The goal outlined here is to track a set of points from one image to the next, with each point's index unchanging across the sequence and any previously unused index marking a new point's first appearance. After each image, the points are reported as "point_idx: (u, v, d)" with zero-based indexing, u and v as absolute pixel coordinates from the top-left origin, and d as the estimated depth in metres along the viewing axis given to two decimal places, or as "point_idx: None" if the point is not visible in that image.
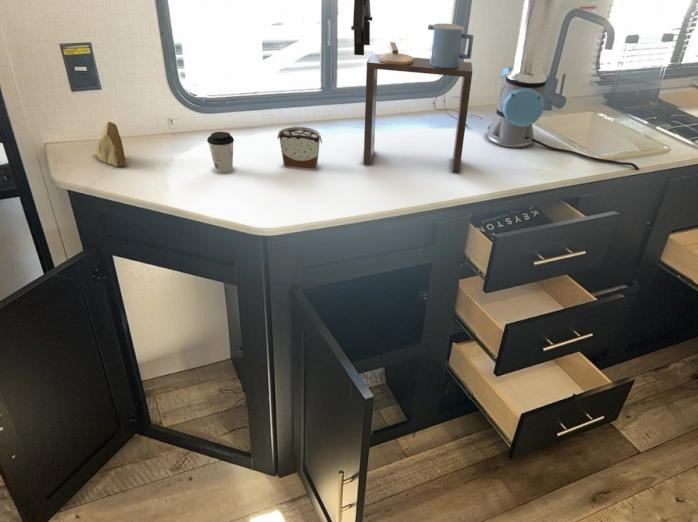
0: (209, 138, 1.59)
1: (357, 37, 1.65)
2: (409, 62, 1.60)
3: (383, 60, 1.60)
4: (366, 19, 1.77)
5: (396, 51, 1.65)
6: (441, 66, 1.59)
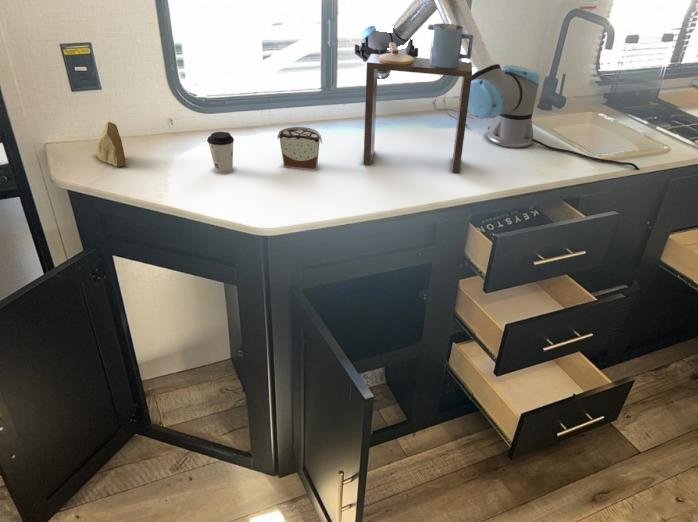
0: (209, 138, 1.59)
1: None
2: (409, 62, 1.60)
3: (383, 60, 1.60)
4: None
5: (396, 51, 1.65)
6: (441, 66, 1.59)
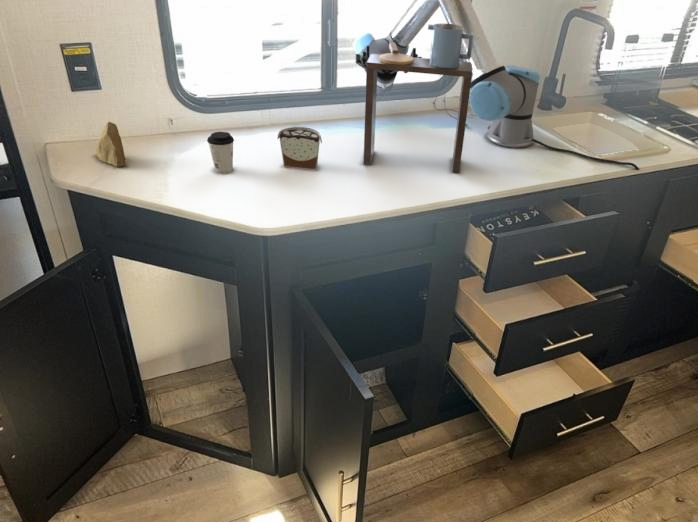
0: (209, 138, 1.59)
1: None
2: (409, 62, 1.60)
3: (383, 60, 1.60)
4: None
5: (396, 51, 1.65)
6: (441, 66, 1.59)
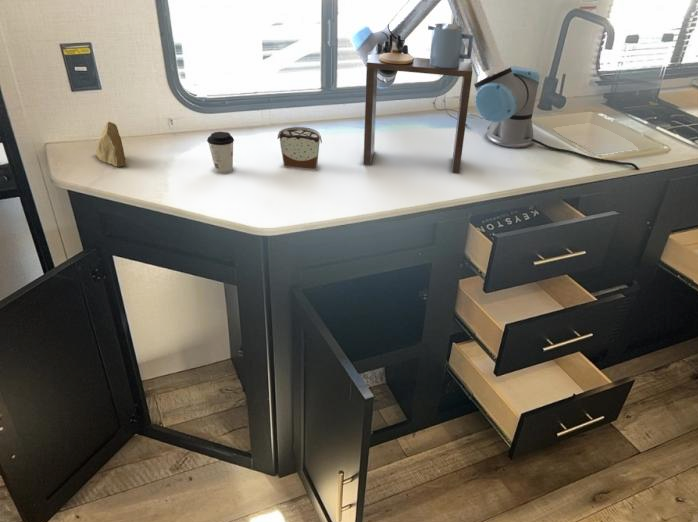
0: (209, 138, 1.59)
1: None
2: (409, 61, 1.60)
3: (383, 59, 1.60)
4: None
5: (396, 50, 1.65)
6: (441, 66, 1.59)
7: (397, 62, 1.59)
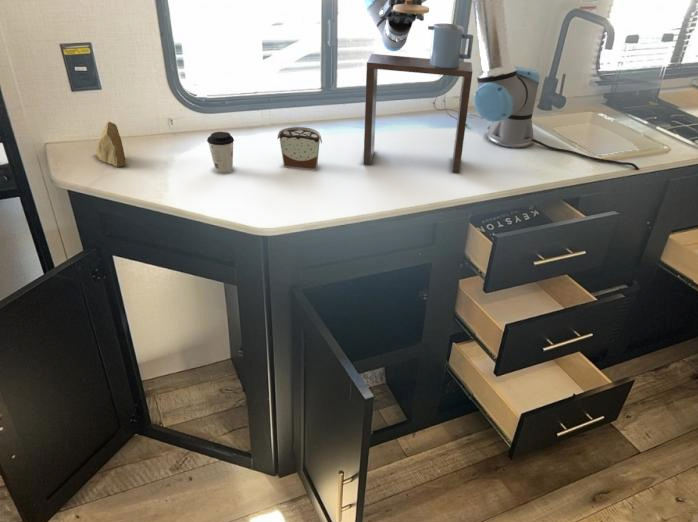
0: (209, 138, 1.59)
1: None
2: (425, 11, 1.53)
3: (397, 9, 1.53)
4: None
5: (410, 2, 1.58)
6: (441, 66, 1.59)
7: (412, 11, 1.51)
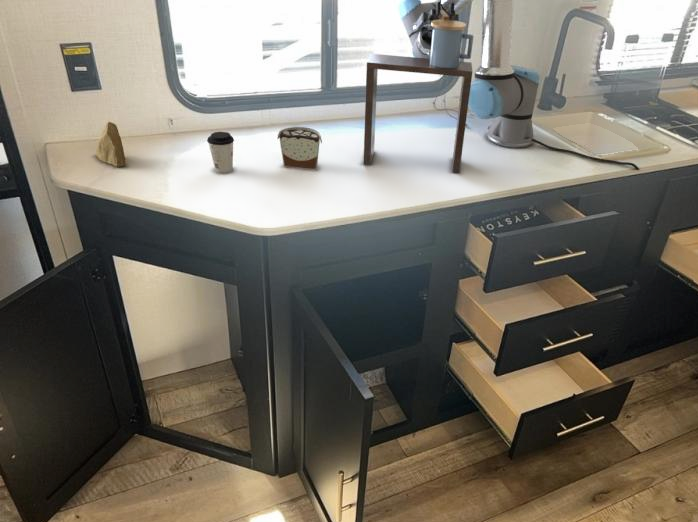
0: (209, 138, 1.59)
1: (430, 14, 1.64)
2: (462, 28, 1.54)
3: (435, 25, 1.54)
4: None
5: (447, 17, 1.60)
6: (441, 66, 1.59)
7: (450, 28, 1.53)
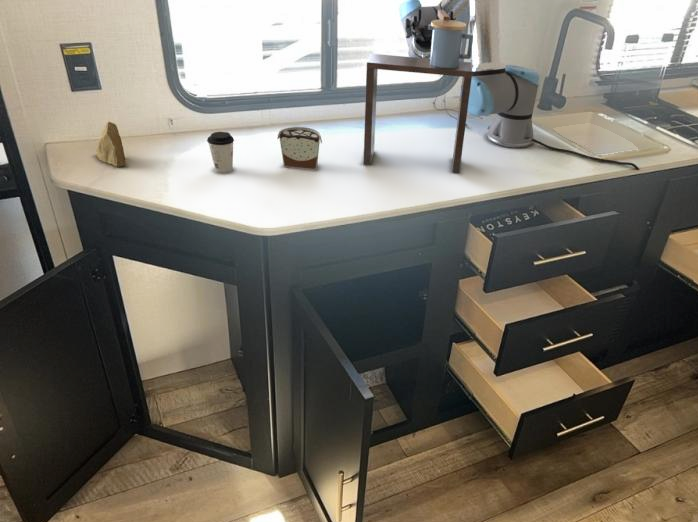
0: (209, 138, 1.59)
1: None
2: (462, 28, 1.54)
3: (435, 25, 1.54)
4: None
5: (447, 17, 1.60)
6: (441, 66, 1.59)
7: (450, 28, 1.53)
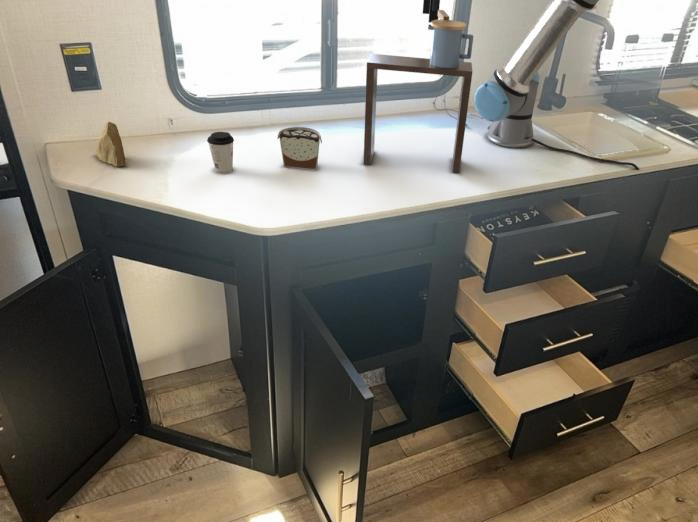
0: (209, 138, 1.59)
1: (434, 5, 1.73)
2: (462, 28, 1.54)
3: (435, 25, 1.54)
4: None
5: (447, 17, 1.60)
6: (441, 66, 1.59)
7: (450, 28, 1.53)
